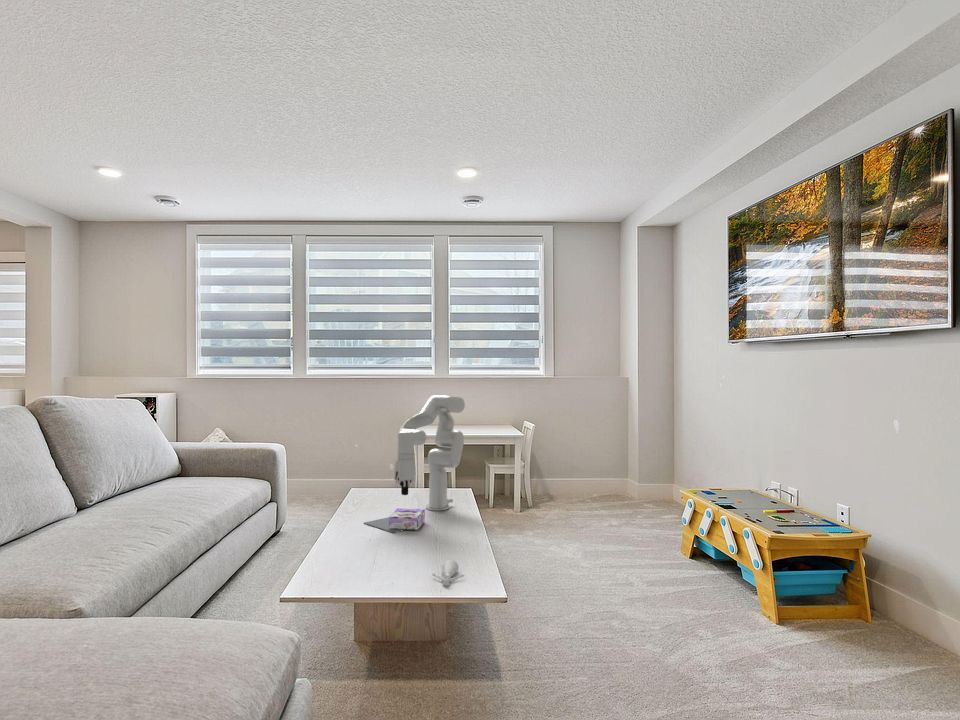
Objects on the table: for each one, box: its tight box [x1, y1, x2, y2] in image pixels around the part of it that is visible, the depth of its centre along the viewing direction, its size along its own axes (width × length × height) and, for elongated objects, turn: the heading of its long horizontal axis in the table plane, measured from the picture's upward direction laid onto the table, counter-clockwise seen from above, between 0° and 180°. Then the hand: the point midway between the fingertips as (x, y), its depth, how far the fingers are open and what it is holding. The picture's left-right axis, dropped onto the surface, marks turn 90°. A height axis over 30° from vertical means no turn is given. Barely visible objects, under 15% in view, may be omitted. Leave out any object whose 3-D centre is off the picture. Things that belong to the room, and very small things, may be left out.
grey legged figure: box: [431, 559, 465, 587], centre depth 210 cm, size 12×4×18 cm
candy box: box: [388, 507, 426, 531], centre depth 277 cm, size 14×6×16 cm
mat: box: [363, 516, 406, 534], centre depth 279 cm, size 17×22×1 cm
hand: (404, 494), depth 285 cm, fingers closed
